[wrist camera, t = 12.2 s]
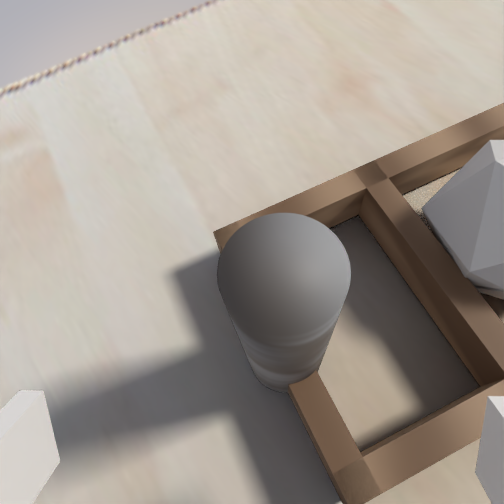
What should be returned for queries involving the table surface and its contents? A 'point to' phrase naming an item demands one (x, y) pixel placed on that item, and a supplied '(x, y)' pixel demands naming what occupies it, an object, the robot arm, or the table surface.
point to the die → (474, 218)
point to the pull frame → (334, 294)
